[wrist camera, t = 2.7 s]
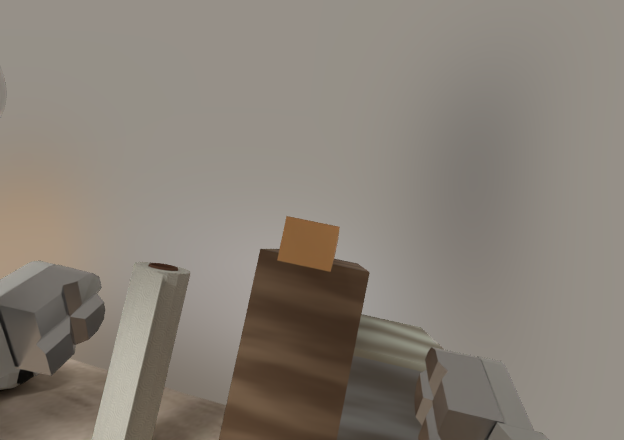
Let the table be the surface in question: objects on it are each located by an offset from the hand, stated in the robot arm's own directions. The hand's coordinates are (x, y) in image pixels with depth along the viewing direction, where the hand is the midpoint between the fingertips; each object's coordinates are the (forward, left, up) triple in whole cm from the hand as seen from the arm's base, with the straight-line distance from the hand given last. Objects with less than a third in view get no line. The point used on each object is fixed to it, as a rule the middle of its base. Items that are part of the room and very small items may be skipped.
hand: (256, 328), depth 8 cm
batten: (-13, +19, +1) cm, 23 cm away
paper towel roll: (-31, +14, -25) cm, 43 cm away
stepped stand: (-12, +25, -25) cm, 38 cm away
